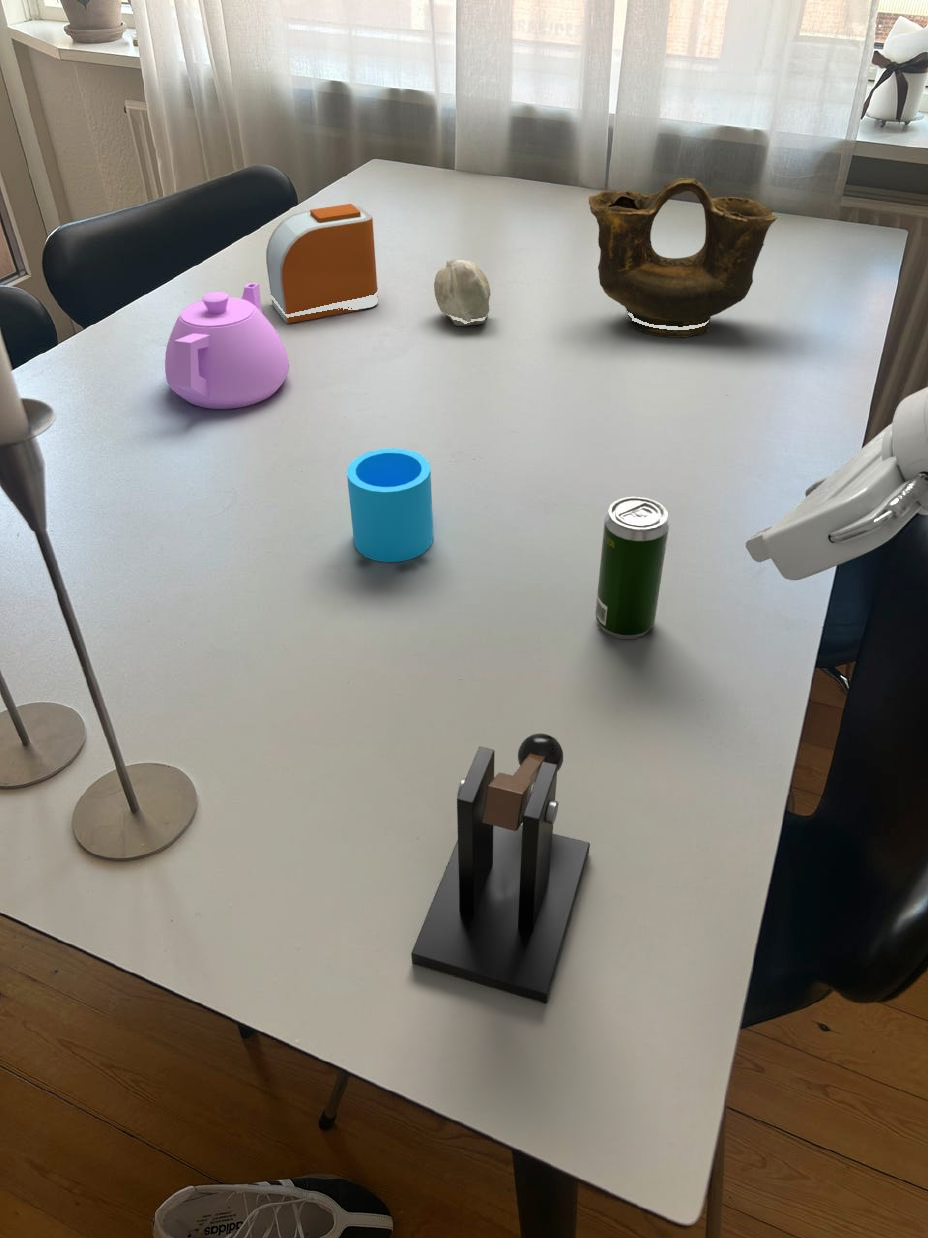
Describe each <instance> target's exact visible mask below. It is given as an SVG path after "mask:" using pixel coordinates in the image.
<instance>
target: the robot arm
mask: <svg viewBox="0 0 928 1238" xmlns="http://www.w3.org/2000/svg"><path fill="white" fill-rule="evenodd" d="M804 495H805V497H804V498H803V499H802V500H801V501H800V502H798V503H797V504H796V505H795V506H794V507H793V508H792V509H791V510H789V511H788V512H787V513H786V514H785V515H784V516H783V517H781V518H780V519H779V520H778V521H777V522H776V523H774V524H773V525H771V526H770V527H767V528H765V529H763V530H760V531H758V532H757V531H756V533H755V534H753V535H752V536H751V537H750V538H749V539H748V540H747V541H746V542H745V548H746V550H747V552H748V553H749V556H751V558H752V560H753V561H754V562H756V563H762V562H765V561H767V560H771V561H772V563H773V565H774V566H775V567H776V569H777V570H778V572H779V573H780V575H781V576H782V578H784V579H785V580H788V581H801V580H803V579H807V578H809V577H811V576H814V575H817V574H819V573H822V572H824V571H827V570H829V569H832V568H834V567H837V566H840V565H842V564H844V563H847V562H849V561H851V560H854V559H857V558H858V557H861V556H863V555H865V554H867V553H869V552H872V551H873V550H875V549H877V548H878V547H880V546H882V545H884V544H885V543H887V542H888V541H889V540H891V539H892V538H894V536H896V535H897V534H898V533H899V532H900V530H902V529H903V527H904V526H905V525H906V524H907V523H908V522H909V521H911V519H912V518H913V517H914V516H915V515H916V514H919V515H922V516H928V386H926V387H924V388H922V389H920V390H918V391H916V392H914V393H912V394H910V395H908V396H906V397H905V398H904V399H902V400H901V401H900V402H899V404H898V405H897V407H896V408H895V411H894V414H893V418H892V422H891V423H890V424H888V426H886V427H885V428H884V429H883V430H881V431H880V432H879V433H878V434H877V435H876V436H874V437H873V438H872V439H871V440H870V441H869V442H868V443H866V445H865V446H863V447H862V448H861V449H860V450H859V451H857V452H856V453H855V454H854V455H853V456H852V457H850V458H849V459H848V460H847V461H846V462H845V463H844V464H842V465H841V466H840V467H839V468H838V469H836V470H835V471H834V472H833V473H831V474H830V475H828V476H826V477H823V478H821V479H819V480H816V481H815V482H814V483H813V484H811V486H809V487H808V488H807V489H806V490H805V494H804Z"/></svg>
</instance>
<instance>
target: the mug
mask: <svg viewBox="0 0 928 1238" xmlns="http://www.w3.org/2000/svg"><path fill="white" fill-rule="evenodd" d="M346 478H347V489H348V498H349V507H350V517H351V526H352V527H351V528H352V537H353V545H354V547H355V549H356V550H357V552H358V553H360V554H361V555H362V556H364V557H365V558H368V559H370V560H374V561H376V562H383V563H396V562H397V563H399V562H405V561H408V560H412V559H415V558H417V557H419V556H421V555H423V554H425V552H426V551H428V550H429V548H431V546H432V543H433V541H434V523H433V498H432V497H433V496H432V471H431V464H430V462H429V461H428V460H427V459H426V457H425V456H423V455H422V454H421V453H419V452H417V451H414V450H408V449H405V448H396V447H395V448H391V447H390V448H379V449H374V450H370V451H368V452H367V451H366V452H365V453H363V454H360V455H358V456H356V458H354V459H353V460H352V461H350V463H349V465H348V466H347V468H346Z"/></svg>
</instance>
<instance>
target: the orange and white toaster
mask: <svg viewBox="0 0 928 1238" xmlns="http://www.w3.org/2000/svg"><path fill="white" fill-rule="evenodd" d="M373 218H374V217H373V216H372V214H370V213H369V212H367V210H365V209H364V208H363V207H361V206H359V205H354V204H352V203H345V204H339V205H333V206H327V207H326V206H325V207H319V208H312V209H310V210H305V211H304V210H303V211H300V212H297V213H294V214H293V213H292V214H291V215H289V216H288V217H286V218H285V219H283V220H282V221H281V222H280V223H279V224H278V225H277V226H276V227H275V228H274V230H273V231H272V233H271V235H270V237H269V238H268V242H267V247H266V251H265V259H266V261H265V262H266V269H267V277H268V283H269V291H270V296H271V295H272V296H273V297H274V298H275V300H276V301H277V302H278V304H279V305H280V307H281V308H282V309H283V311H284V312H285V314H291V313H295V312H299V311H304V310H308V309H311V308H316V307H320V306H324V305H329V304H332V303H337V302H342V301H347V300H352V299H357V298H362V297H366V296H369V295H374V294H375V293H376V292H377V290H378V277H377V265H376V264H377V263H376V248H375V247H376V246H375V234H374V219H373ZM271 305H272V307H273V308H274V309H275V311H276V312H277V313H278V314H279V316H280V317H281V319H283V321H284V322H285V323H286V324H287V325H288V324H293V323H299V322H303V321H304V322H305V321H309V320H315V319H321V318H325V317H331V316H337V315H343V314H348V313H353V312H359V311H362V310H361V309H359V310H348V309H344V310H343V308H341V309H340V308H338V309H339V310H338V309H333V310H327V311H322V312H316V313H311V314H305V315H300V316H294V317H289V318H287V317H286V316H285V315H284V314H283V313H282V311H281V310H280V309H279V308H278V306H277V305H276V304H275V303H274V301H273V300H272V299H271ZM348 308H349V307H348ZM351 309H352V308H351Z"/></svg>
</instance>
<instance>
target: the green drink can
mask: <svg viewBox="0 0 928 1238" xmlns="http://www.w3.org/2000/svg"><path fill="white" fill-rule="evenodd" d="M668 518H669V514H668V510H667V508H665V507H664V505H663V504H662V503H659V502H658V501H657V500H655V499H652V498H648V497H643V496H628V497H621V498H619V499H617V500H615V501H613V502H611V504H610V505H609V507H608V511H607V514H606V516H605V518H604V522H603V535H602V541H601V542H602V545H601V553H600V563H599V575H598V586H597V593H596V606H595V620H596V622H597V624H598V626H599V627H600V628H601V630H602V631H603V632H604V633H605V634H607V635H608V636H611V637H613V638H615V639H621V640H635V639H639V638H642V637H643V636H645V635H646V634H647V633H648V632H649V631H650V630H651V628H652V627H653V626H654V624H655V621H656V615H657V610H658V602H659V596H660V589H661V583H662V578H663V577H662V575H663V569H664V563H665V556H666V550H667V543H668V535H669V530H670V523H669V519H668Z"/></svg>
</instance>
